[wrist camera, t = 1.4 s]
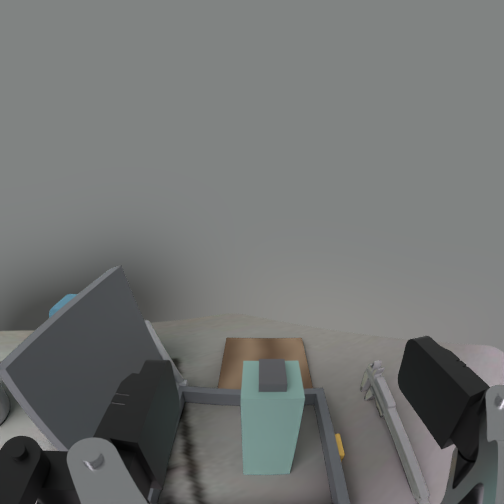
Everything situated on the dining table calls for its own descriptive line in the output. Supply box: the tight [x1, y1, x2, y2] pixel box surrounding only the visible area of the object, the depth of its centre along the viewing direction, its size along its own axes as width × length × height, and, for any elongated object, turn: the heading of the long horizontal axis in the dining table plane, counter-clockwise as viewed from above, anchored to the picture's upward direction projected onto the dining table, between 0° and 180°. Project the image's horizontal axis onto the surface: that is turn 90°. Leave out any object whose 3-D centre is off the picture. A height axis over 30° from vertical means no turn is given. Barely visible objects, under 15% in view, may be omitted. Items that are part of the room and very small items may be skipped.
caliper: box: [360, 360, 430, 504], centre depth 22 cm, size 20×1×6 cm, turn 4°
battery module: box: [241, 359, 305, 475], centre depth 22 cm, size 4×4×13 cm
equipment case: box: [0, 266, 350, 504], centre depth 22 cm, size 24×19×18 cm
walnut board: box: [218, 338, 313, 389], centre depth 39 cm, size 12×12×1 cm
